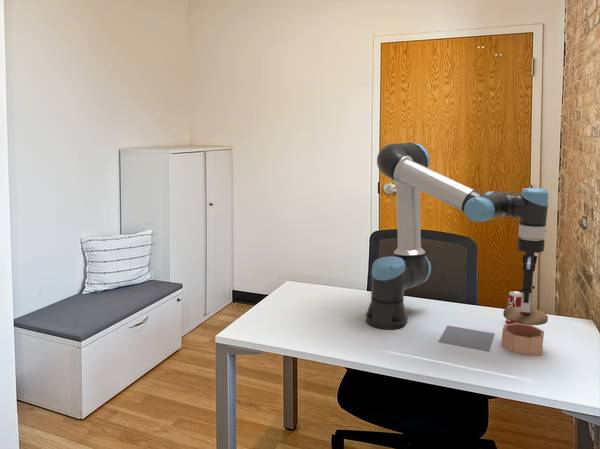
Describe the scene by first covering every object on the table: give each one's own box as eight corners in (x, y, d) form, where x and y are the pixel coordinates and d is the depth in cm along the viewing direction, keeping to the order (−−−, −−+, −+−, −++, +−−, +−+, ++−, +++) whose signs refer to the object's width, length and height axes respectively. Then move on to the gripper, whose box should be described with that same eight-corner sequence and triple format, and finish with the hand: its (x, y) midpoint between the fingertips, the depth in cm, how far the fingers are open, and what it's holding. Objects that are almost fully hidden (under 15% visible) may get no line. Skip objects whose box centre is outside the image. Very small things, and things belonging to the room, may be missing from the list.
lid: (501, 320, 160) (503, 289, 158) (505, 308, 171) (507, 278, 170) (547, 328, 154) (550, 295, 152) (547, 314, 166) (550, 284, 164)
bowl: (500, 351, 162) (501, 333, 161) (503, 337, 173) (505, 321, 172) (541, 359, 157) (543, 340, 156) (542, 344, 168) (544, 327, 166)
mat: (437, 343, 168) (437, 342, 168) (447, 326, 182) (447, 325, 182) (488, 353, 161) (489, 351, 161) (494, 335, 175) (494, 333, 175)
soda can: (522, 328, 181) (525, 296, 179) (507, 326, 182) (509, 295, 180) (519, 322, 186) (522, 291, 184) (504, 321, 187) (507, 290, 185)
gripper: (544, 244, 149) (537, 320, 154) (545, 234, 163) (539, 304, 168) (516, 242, 153) (510, 316, 157) (520, 232, 167) (514, 300, 171)
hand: (525, 309), depth 162 cm, fingers closed on lid, 3 cm apart
